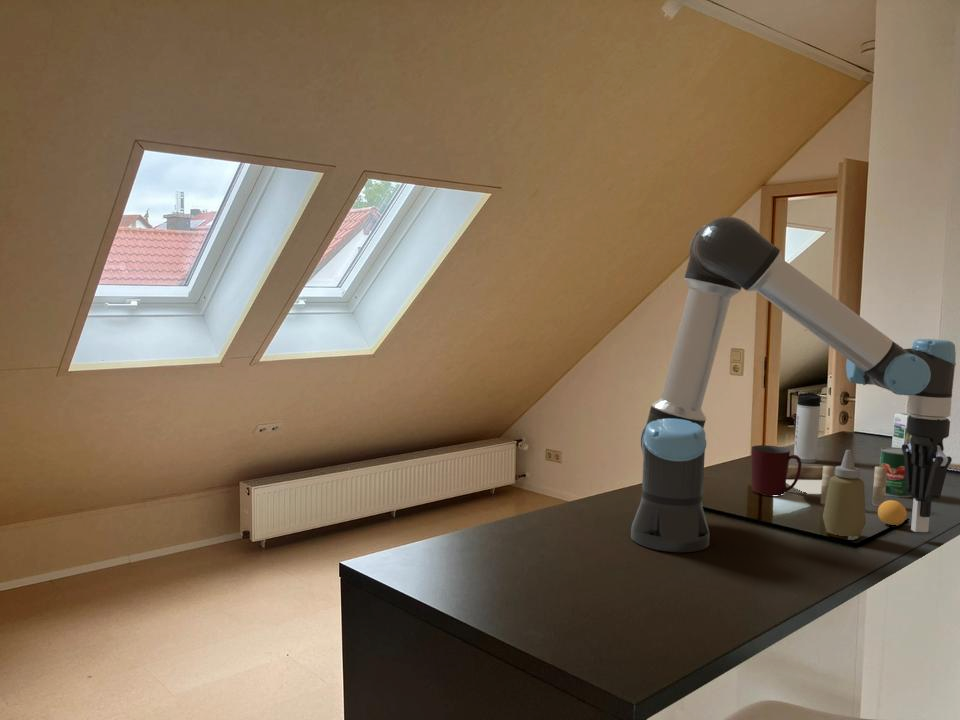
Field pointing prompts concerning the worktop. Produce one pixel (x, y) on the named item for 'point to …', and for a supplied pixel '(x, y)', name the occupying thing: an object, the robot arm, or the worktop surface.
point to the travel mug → (807, 427)
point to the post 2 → (879, 485)
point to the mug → (771, 469)
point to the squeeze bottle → (845, 500)
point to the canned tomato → (894, 471)
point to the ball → (892, 512)
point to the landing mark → (807, 486)
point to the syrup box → (900, 430)
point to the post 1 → (826, 481)
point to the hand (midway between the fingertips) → (919, 530)
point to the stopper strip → (805, 472)
